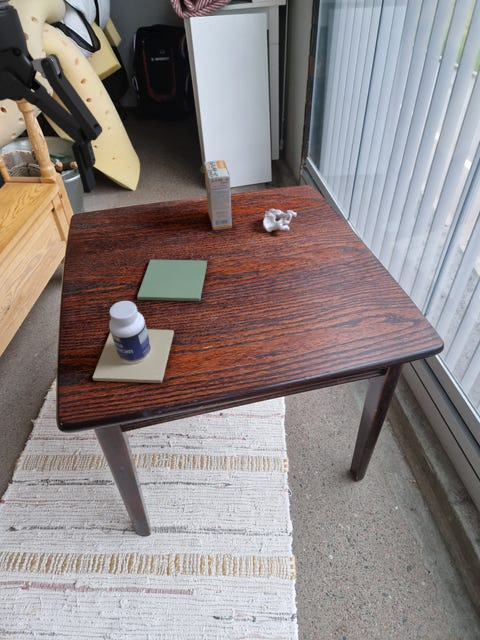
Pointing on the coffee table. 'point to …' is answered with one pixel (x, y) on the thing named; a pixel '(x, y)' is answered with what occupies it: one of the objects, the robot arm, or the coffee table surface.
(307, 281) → the coffee table surface
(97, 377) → the cream mat
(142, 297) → the sage mat
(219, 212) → the supplement box
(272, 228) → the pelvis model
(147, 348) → the pill bottle
